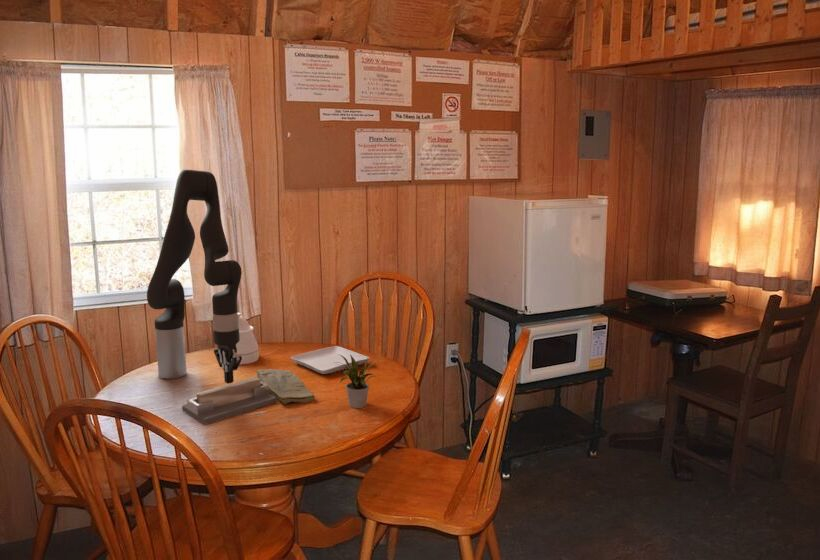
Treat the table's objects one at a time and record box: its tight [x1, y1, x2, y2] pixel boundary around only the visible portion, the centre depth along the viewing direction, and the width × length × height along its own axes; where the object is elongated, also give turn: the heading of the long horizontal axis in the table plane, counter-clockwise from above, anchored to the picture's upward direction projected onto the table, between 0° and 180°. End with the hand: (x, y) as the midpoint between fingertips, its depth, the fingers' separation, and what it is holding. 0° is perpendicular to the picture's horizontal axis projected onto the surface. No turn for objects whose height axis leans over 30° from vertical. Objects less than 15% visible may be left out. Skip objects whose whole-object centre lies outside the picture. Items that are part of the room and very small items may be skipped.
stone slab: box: [256, 368, 315, 405], centre depth 217 cm, size 12×4×30 cm
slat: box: [196, 376, 260, 408], centre depth 202 cm, size 2×20×5 cm, turn 135°
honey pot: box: [236, 312, 260, 366], centre depth 245 cm, size 13×13×18 cm
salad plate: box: [290, 345, 370, 375], centre depth 241 cm, size 21×21×3 cm
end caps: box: [187, 381, 270, 415], centre depth 202 cm, size 6×24×3 cm, turn 134°
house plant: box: [333, 354, 379, 409], centre depth 202 cm, size 14×14×16 cm
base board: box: [181, 393, 277, 425], centre depth 202 cm, size 14×24×2 cm, turn 134°
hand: (229, 382), depth 201 cm, fingers closed
